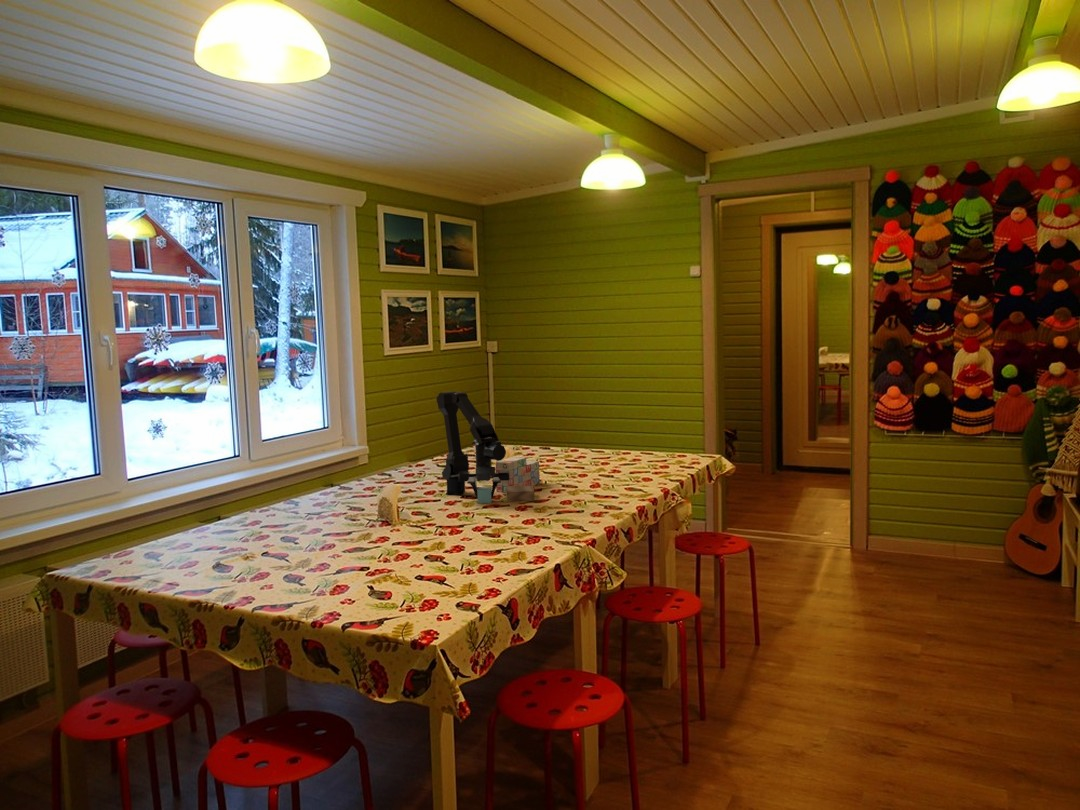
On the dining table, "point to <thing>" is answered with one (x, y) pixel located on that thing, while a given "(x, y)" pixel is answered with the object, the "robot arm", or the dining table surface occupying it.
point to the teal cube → (484, 494)
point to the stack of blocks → (518, 472)
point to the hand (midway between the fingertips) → (484, 498)
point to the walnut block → (519, 493)
